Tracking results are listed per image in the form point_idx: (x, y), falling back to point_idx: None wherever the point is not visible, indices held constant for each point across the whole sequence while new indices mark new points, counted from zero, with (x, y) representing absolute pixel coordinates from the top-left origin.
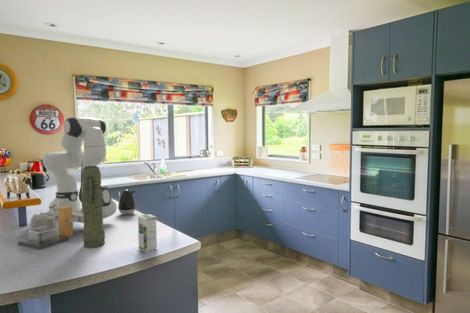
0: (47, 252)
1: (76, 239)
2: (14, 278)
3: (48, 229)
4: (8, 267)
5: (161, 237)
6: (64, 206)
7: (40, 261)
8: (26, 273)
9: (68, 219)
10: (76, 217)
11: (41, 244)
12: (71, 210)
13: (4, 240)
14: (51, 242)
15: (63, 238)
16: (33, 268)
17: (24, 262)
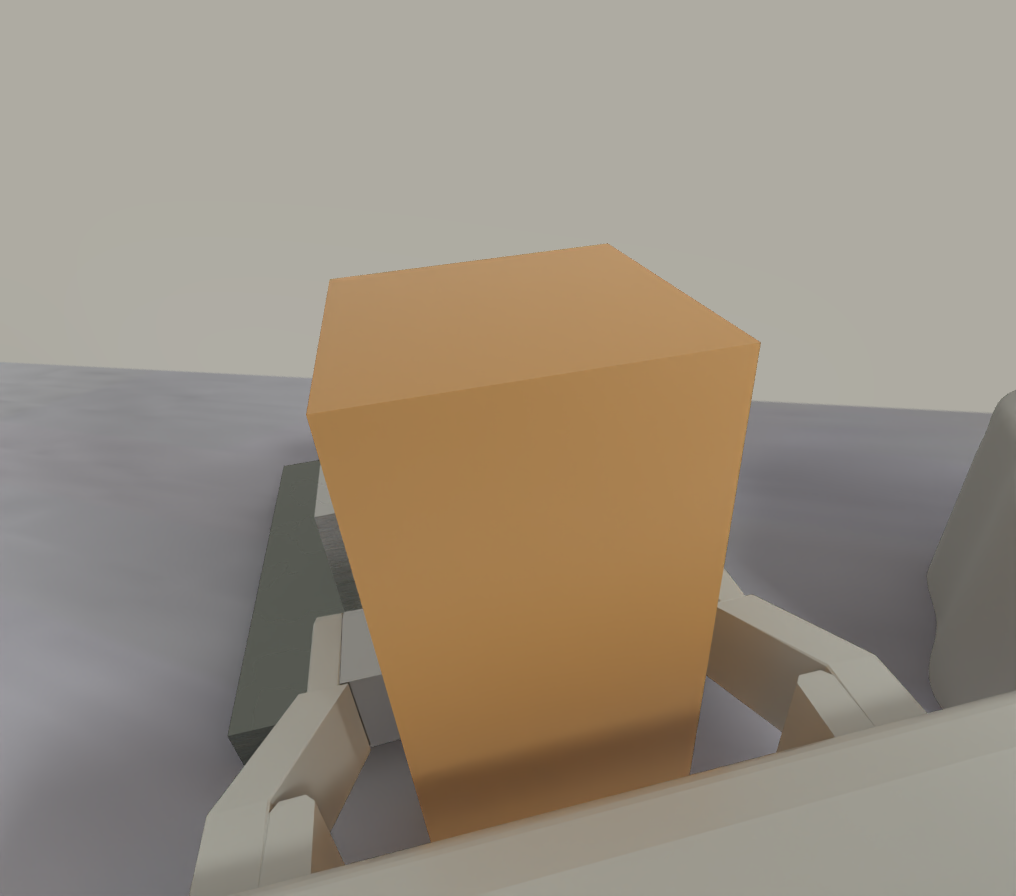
0: (154, 511)
1: (140, 867)
2: (33, 381)
3: (951, 657)
4: (191, 379)
5: None
6: (622, 306)
7: (59, 458)
8: (12, 406)
9: (330, 616)
10: (208, 814)
11: (306, 483)
12: (349, 540)
13: (799, 403)
14: (268, 541)
15: (248, 657)
16: (21, 427)
17: (162, 417)
